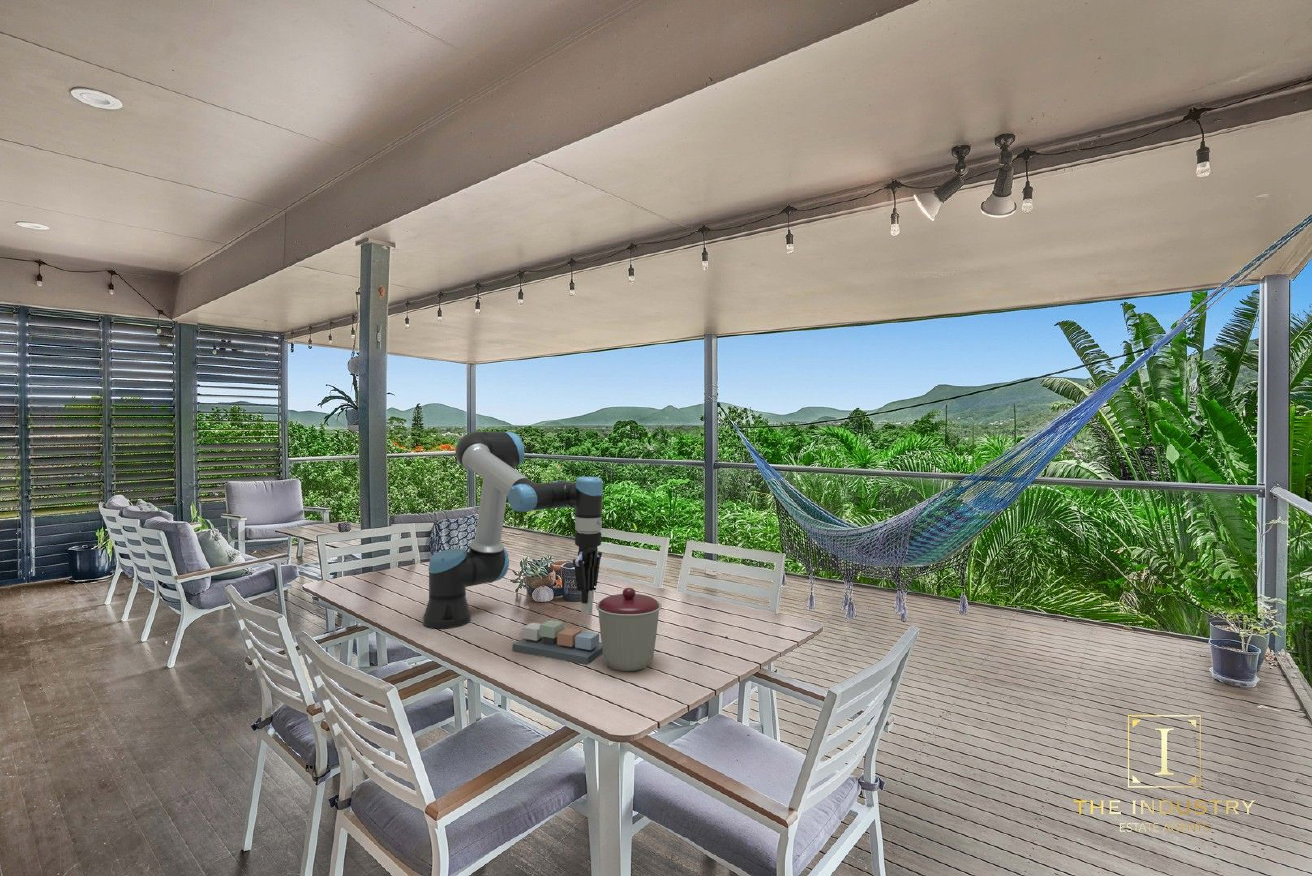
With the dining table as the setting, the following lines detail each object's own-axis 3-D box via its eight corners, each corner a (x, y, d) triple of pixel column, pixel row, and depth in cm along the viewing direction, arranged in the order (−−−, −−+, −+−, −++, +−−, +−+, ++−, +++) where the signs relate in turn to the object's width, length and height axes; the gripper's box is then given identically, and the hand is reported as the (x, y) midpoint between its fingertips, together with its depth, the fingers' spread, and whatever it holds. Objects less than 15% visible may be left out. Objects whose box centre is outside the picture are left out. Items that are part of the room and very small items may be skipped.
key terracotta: (557, 644, 171) (557, 633, 171) (566, 638, 176) (566, 628, 176) (572, 646, 169) (572, 635, 169) (581, 641, 174) (581, 630, 174)
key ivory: (522, 638, 176) (522, 627, 176) (532, 633, 181) (532, 622, 181) (536, 640, 174) (536, 629, 174) (546, 635, 179) (546, 624, 179)
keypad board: (512, 651, 173) (512, 636, 173) (536, 638, 184) (536, 624, 184) (587, 664, 164) (587, 649, 163) (607, 650, 175) (608, 636, 175)
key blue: (575, 647, 169) (575, 636, 169) (584, 641, 174) (584, 630, 174) (590, 650, 167) (590, 638, 167) (599, 644, 172) (599, 633, 172)
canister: (626, 647, 177) (626, 576, 177) (674, 663, 165) (675, 587, 165) (581, 665, 163) (582, 588, 163) (630, 683, 151) (631, 601, 151)
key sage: (539, 635, 174) (539, 625, 174) (549, 630, 178) (549, 620, 178) (554, 638, 172) (554, 627, 172) (563, 633, 176) (563, 622, 176)
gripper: (588, 536, 163) (586, 622, 163) (610, 529, 175) (608, 609, 175) (564, 533, 166) (563, 618, 166) (588, 526, 178) (586, 605, 178)
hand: (586, 613), depth 171 cm, fingers closed
